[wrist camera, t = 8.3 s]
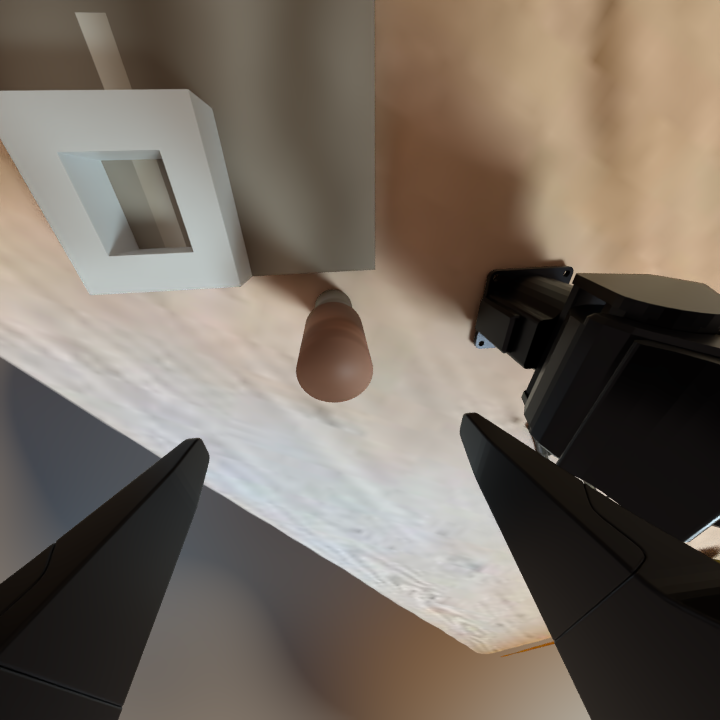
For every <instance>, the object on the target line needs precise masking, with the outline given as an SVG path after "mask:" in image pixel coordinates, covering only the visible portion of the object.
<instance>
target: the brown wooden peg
mask: <svg viewBox="0 0 720 720" xmlns="http://www.w3.org/2000/svg"><path fill="white" fill-rule="evenodd" d="M296 374H297V379H298V382H299V384H300V385H301V387H302V388H303V389H304V391H305V392H307V393H308V394H309V395H310V396H312V397H314V398H316V399H318V400H321V401H325V402H343V401H347V400H350V399H352V398H355V397H356V396H358V395H359V394H361V393H362V392H363V391H364V390H365V389H366V388H367V386H368V385H369V383H370V381H371V379H372V375H373V365H372V361H371V357H370V353H369V349H368V346H367V342H366V338H365V334H364V330H363V326H362V322H361V319H360V317H359V315H358V314H357V312H356V311H355V310H354V309H353V308H352V304H351V301H350V299H349V298H348V296H347V295H346V294H345V293H343V292H341V291H339V290H328V291H325V292H323V293H322V294H321V295H320V296H319V297H318V298H317V300H316V303H315V309H313V310H312V311H311V313H310V314H309V316H308V318H307V320H306V324H305V329H304V334H303V339H302V343H301V348H300V353H299V358H298V362H297V367H296Z"/></svg>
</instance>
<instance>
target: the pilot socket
mask: <svg viewBox="0 0 720 720" xmlns="http://www.w3.org/2000/svg"><path fill="white" fill-rule="evenodd" d="M0 139H1V141H2V143H3V144H4V146H5V148H6V150H7V151H8V153H9V155H10V156H11V158H12V160H13V162H14V163H15V165H16V167H17V169H18V170H19V172H20V174H21V176H22V177H23V179H24V181H25V183H26V184H27V186H28V188H29V190H30V191H31V193H32V195H33V197H34V198H35V200H36V202H37V204H38V205H39V207H40V209H41V210H42V212H43V214H44V216H45V217H46V219H47V221H48V223H49V224H50V226H51V228H52V230H53V231H54V233H55V235H56V237H57V238H58V240H59V242H60V244H61V245H62V247H63V249H64V251H65V252H66V254H67V256H68V257H69V259H70V261H71V263H72V264H73V266H74V268H75V270H76V271H77V273H78V275H79V277H80V278H81V280H82V282H83V284H84V285H85V287H86V289H87V291H88V292H89V294H90V295H102V294H120V293H137V292H155V291H173V290H190V289H208V288H226V287H241V286H242V285H243V284H244V283H245V282H246V281H248V280H249V279H250V278H251V277H252V273H251V269H250V264H249V260H248V256H247V252H246V248H245V244H244V239H243V235H242V231H241V227H240V223H239V219H238V214H237V210H236V206H235V202H234V198H233V193H232V189H231V185H230V181H229V177H228V173H227V168H226V164H225V160H224V156H223V152H222V148H221V143H220V139H219V135H218V131H217V127H216V122H215V118H214V114H213V110H212V108H211V107H210V106H208V105H207V104H206V103H205V102H203V101H202V100H201V99H200V98H198V97H197V96H196V95H195V94H194V93H192V92H191V91H190V90H189V89H149V90H31V91H0ZM141 159H163V162H164V165H165V168H166V171H167V174H168V177H169V180H170V183H171V186H172V189H173V192H174V195H175V198H176V201H177V204H178V207H179V210H180V213H181V216H182V219H183V222H184V225H185V228H186V231H187V234H188V237H189V240H190V243H191V245H192V247H175V248H153V249H139V247H138V245H137V243H136V240H135V238H134V236H133V233H132V231H131V229H130V227H129V224H128V222H127V220H126V217H125V215H124V213H123V210H122V208H121V206H120V204H119V201H118V199H117V197H116V194H115V192H114V190H113V187H112V185H111V183H110V181H109V178H108V176H107V174H106V171H105V169H104V167H103V164H102V162H101V161H102V160H141Z"/></svg>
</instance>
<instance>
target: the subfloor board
mask: <svg viewBox="0 0 720 720" xmlns="http://www.w3.org/2000/svg"><path fill="white" fill-rule="evenodd" d="M149 89H189V90H190V91H191V92H192V93H194V94H195V95H196V96H197V97H198V98H200V99H201V100H202V101H203V102H205V103H206V104H207V105H208V106H210V107H211V108H212V110H213V114H214V118H215V122H216V127H217V131H218V135H219V139H220V143H221V148H222V152H223V156H224V160H225V164H226V168H227V173H228V177H229V181H230V185H231V189H232V193H233V198H234V202H235V206H236V210H237V214H238V219H239V223H240V227H241V231H242V235H243V239H244V244H245V248H246V252H247V256H248V260H249V264H250V269H251V273H252V276H265V275H283V274H302V273H320V272H339V271H357V270H375V0H0V91H31V90H149ZM101 162H102V164H103V167H104V169H105V171H106V174H107V176H108V178H109V181H110V183H111V185H112V187H113V190H114V192H115V194H116V197H117V199H118V201H119V204H120V206H121V208H122V210H123V213H124V215H125V217H126V220H127V222H128V224H129V227H130V229H131V231H132V233H133V236H134V238H135V240H136V243H137V245H138V247H139V249H153V248H175V247H192V245H191V243H190V240H189V237H188V234H187V231H186V228H185V225H184V222H183V219H182V216H181V213H180V210H179V207H178V204H177V201H176V198H175V195H174V192H173V189H172V186H171V183H170V180H169V177H168V174H167V171H166V168H165V165H164V162H163V159H141V160H102V161H101Z"/></svg>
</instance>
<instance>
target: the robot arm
mask: <svg viewBox="0 0 720 720" xmlns="http://www.w3.org/2000/svg"><path fill="white" fill-rule="evenodd" d="M565 271H566V273H565V274H564V272H565ZM496 274H497V278H496V279H494V276H495V275H496ZM563 274H564V275H563ZM572 274H573V268H572V267H569V266H550V267H532V268H514V269H496V270H493V271H491V272H490V273H489V275H488V277H487V282H486V287H485V291H484V296H483V299H482V300H481V303H480V308H479V312H478V317H477V322H476V327H475V329H476V333H475V338H474V345H475V346H476V347H477V348H479V349H482V348H495V347H496V348H498V349H499V350H500V351H501V352H502V353H507V354H508V355H509V356H510V357H512V358H513V359H514V360H515V361H516V362H517V363H519V364H520V365H521V366H522V367H523V368H525V369H531V368H532V369H533V370H535V372H534V374H533V376H532V379H531V381H530V383H529V385H528V388H527V390H525V391H524V392H523V395H522V397H521V398H522V400H523V402H524V405H525V407H524V416H525V418H526V420H527V422H528V424H529V426H530V427H531V428H530V430H529V433H530V434H531V435H532V437H533V438H534V439H535V440H536V441H537V442H538V443H539V444H540V445H541V446H542V447H543V448H545V449H546V450H547V451H548V452H550V453H551V454H552V455H554V456H555V457H557V458H558V459H559V460H558V461H557V463H556V464H555V463H553V462H552V461H550V460H549V459H547V458H545V457H544V456H542V455H541V454H539V453H538V452H536V451H535V450H533V449H532V448H530V447H529V446H527V445H525V444H524V443H522V442H521V441H519V440H518V439H516V438H515V437H513V436H512V435H510V434H508V433H507V432H505V431H504V430H502V429H501V428H499V427H498V426H496V425H495V424H493V423H492V422H490V421H488V420H487V419H485V418H484V417H482V416H481V415H479V414H478V413H465V414H464V415H463V418H462V422H461V427H460V436H461V439H462V442H463V445H464V448H465V451H466V453H467V456H468V459H469V462H470V465H471V467H472V470H473V473H474V475H475V478H476V480H477V482H478V484H479V487H480V489H481V491H482V493H483V495H484V497H485V499H486V501H487V503H488V505H489V507H490V509H491V512H492V514H493V516H494V518H495V520H496V522H497V524H498V526H499V528H500V530H501V532H502V534H503V536H504V539H505V541H506V543H507V545H508V547H509V549H510V551H511V553H512V555H513V557H514V559H515V561H516V564H517V566H518V568H519V570H520V572H521V574H522V576H523V578H524V580H525V582H526V584H527V586H528V588H529V591H530V593H531V595H532V597H533V599H534V601H535V603H536V605H537V607H538V609H539V611H540V613H541V616H542V618H543V620H544V622H545V624H546V626H547V628H548V630H549V632H550V634H551V636H552V638H553V640H554V643H555V645H556V647H557V649H558V651H559V653H560V655H561V658H562V660H563V662H564V664H565V666H566V668H567V670H568V672H569V674H570V676H571V678H572V680H573V682H574V685H575V687H576V689H577V691H578V693H579V695H580V697H581V699H582V701H583V703H584V705H585V707H586V710H587V712H588V714H589V715H590V718H591V720H720V563H718V562H717V561H715V560H713V559H711V558H710V557H708V556H706V555H704V554H703V553H701V552H699V551H697V550H696V549H694V548H692V547H691V546H689V545H687V544H685V543H684V542H690V541H691V540H693V539H694V538H695V537H697V536H698V535H699V534H701V533H702V532H704V531H705V530H706V529H708V528H709V527H710V526H715V527H719V528H720V294H718V293H717V292H716V291H714V290H713V289H711V288H710V287H709V286H707V285H706V284H703V283H698V282H693V281H687V280H681V279H675V278H669V277H663V276H658V275H651V274H598V273H576V275H575V278H574V280H573V282H572V284H574V285H570V284H569V282H570V280H571V277H572ZM480 341H482V342H481V343H480V344H479V342H480ZM208 464H209V453H208V451H207V449H206V447H205V445H204V443H203V441H202V439H200V438H192V439H186V440H185V441H183V442H182V443H181V444H179V445H178V446H177V447H175V448H174V449H173V450H172V451H170V452H169V453H168V454H167V455H165V456H164V457H163V458H161V459H160V460H159V461H158V462H156V463H155V464H154V465H153V466H151V467H150V468H149V469H148V470H146V471H145V472H144V473H143V474H141V475H140V476H138V477H137V478H136V479H135V480H133V481H132V482H131V483H130V484H128V485H127V486H126V487H124V488H123V489H122V490H121V491H119V492H118V493H117V494H116V495H114V496H113V497H112V498H111V499H109V500H108V501H107V502H105V503H104V504H103V505H101V506H100V507H99V508H98V509H96V510H95V511H94V512H93V513H91V514H90V515H89V516H87V517H86V518H85V519H84V520H82V521H81V522H80V523H79V524H77V525H76V526H75V527H74V528H72V529H71V530H70V531H68V532H67V533H66V534H64V535H63V536H62V537H61V538H59V539H58V540H57V541H56V543H53V544H52V545H50V546H49V547H48V548H47V549H45V550H44V551H43V552H41V553H40V554H39V555H38V556H36V557H35V558H34V559H32V560H31V561H30V562H29V563H27V564H26V565H25V566H24V567H22V568H21V569H19V570H18V571H17V572H16V573H14V574H13V575H12V576H10V577H9V578H8V579H6V580H5V581H4V582H3V583H1V584H0V720H118V719H119V716H120V713H121V711H122V706H123V704H124V702H125V699H126V697H127V694H128V691H129V689H130V686H131V683H132V680H133V678H134V675H135V672H136V670H137V667H138V664H139V662H140V659H141V656H142V654H143V651H144V648H145V646H146V643H147V640H148V638H149V635H150V632H151V629H152V627H153V624H154V622H155V619H156V616H157V613H158V611H159V608H160V605H161V603H162V600H163V597H164V595H165V592H166V589H167V586H168V584H169V581H170V579H171V576H172V573H173V571H174V568H175V565H176V562H177V560H178V557H179V555H180V552H181V549H182V547H183V544H184V541H185V538H186V536H187V533H188V530H189V528H190V525H191V522H192V519H193V517H194V514H195V511H196V509H197V505H198V502H199V498H200V495H201V491H202V487H203V483H204V479H205V475H206V472H207V468H208ZM575 476H576V477H578V478H580V479H582V480H584V481H585V482H587V483H589V484H590V485H592V486H594V487H595V488H597V489H599V490H600V491H602V492H603V493H605V494H606V495H607V496H609V497H610V498H611V499H613V500H614V501H615V502H617V503H618V504H617V503H615V502H614V501H612V500H611V499H609V498H608V497H606V496H604V495H603V494H601V493H600V492H598V491H596V490H595V489H593V488H592V487H590V486H589V485H587V484H586V483H584V484H583V482H582V481H581V480H579V479H578V478H576V477H575ZM620 505H621V506H620Z"/></svg>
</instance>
